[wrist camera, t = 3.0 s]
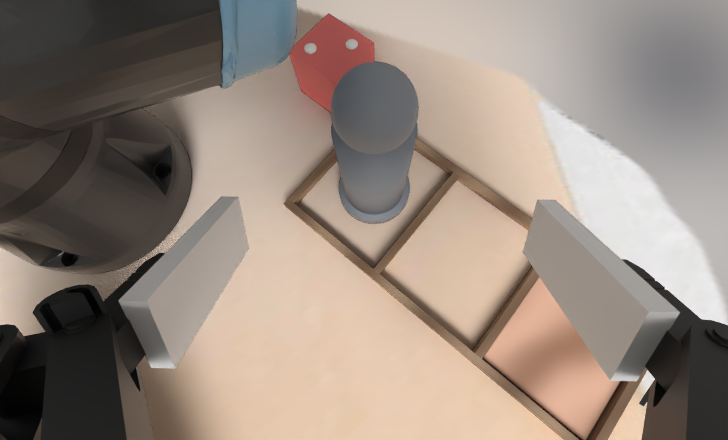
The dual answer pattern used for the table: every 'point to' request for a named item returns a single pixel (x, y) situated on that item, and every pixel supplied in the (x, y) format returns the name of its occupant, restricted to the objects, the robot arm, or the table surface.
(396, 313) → the table surface
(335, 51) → the red die
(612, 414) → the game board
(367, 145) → the pawn
